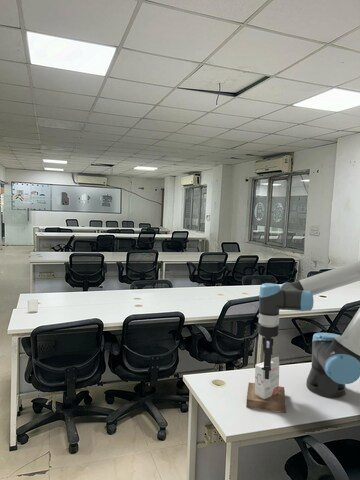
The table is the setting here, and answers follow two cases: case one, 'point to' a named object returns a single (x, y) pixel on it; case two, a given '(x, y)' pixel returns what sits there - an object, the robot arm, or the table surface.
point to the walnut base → (266, 400)
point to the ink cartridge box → (274, 383)
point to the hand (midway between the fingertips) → (266, 378)
